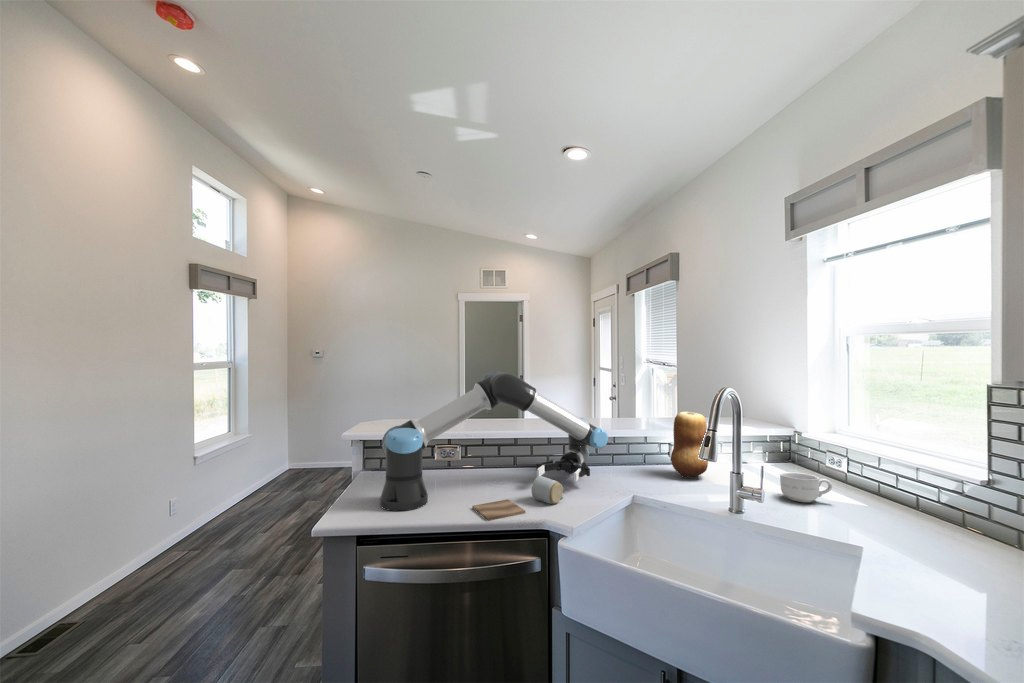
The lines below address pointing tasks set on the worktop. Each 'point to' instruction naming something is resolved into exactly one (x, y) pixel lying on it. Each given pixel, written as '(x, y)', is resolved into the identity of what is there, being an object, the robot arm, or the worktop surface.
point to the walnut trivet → (498, 509)
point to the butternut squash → (688, 444)
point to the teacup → (802, 486)
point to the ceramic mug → (547, 490)
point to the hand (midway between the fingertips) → (556, 475)
